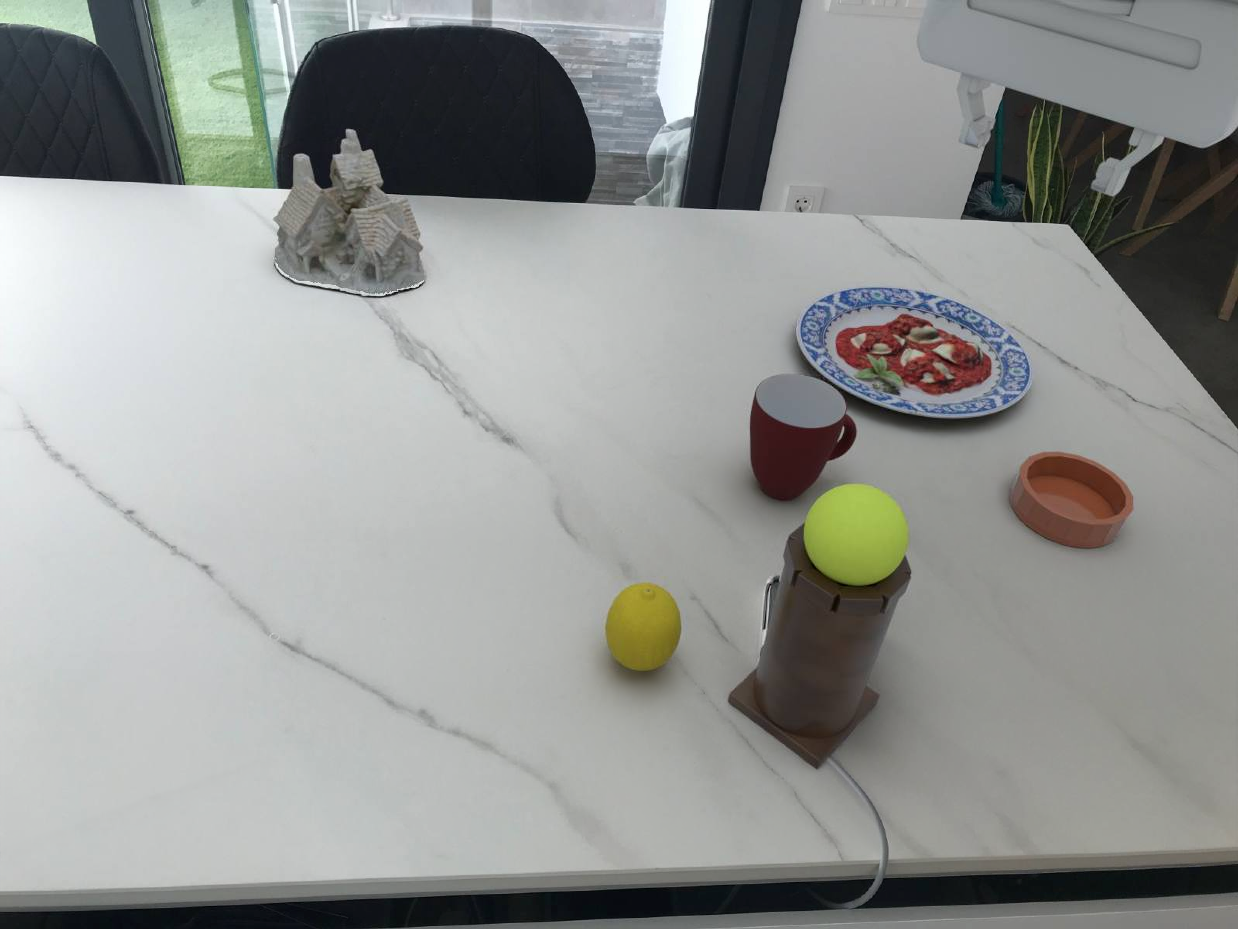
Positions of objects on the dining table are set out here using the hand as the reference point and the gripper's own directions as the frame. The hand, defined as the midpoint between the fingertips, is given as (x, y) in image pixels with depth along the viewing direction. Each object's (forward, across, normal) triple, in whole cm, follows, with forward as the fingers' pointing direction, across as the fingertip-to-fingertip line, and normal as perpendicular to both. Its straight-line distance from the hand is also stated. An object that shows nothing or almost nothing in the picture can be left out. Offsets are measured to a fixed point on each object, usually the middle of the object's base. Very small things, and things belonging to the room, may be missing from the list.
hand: (1036, 166), depth 65 cm
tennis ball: (+17, -4, +22) cm, 28 cm away
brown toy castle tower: (+34, -4, +22) cm, 41 cm away
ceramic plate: (+34, +14, -25) cm, 45 cm away
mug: (+34, +11, +2) cm, 36 cm away
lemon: (+34, +7, +28) cm, 45 cm away
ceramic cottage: (+34, +70, +9) cm, 78 cm away
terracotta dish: (+34, -9, -14) cm, 38 cm away
